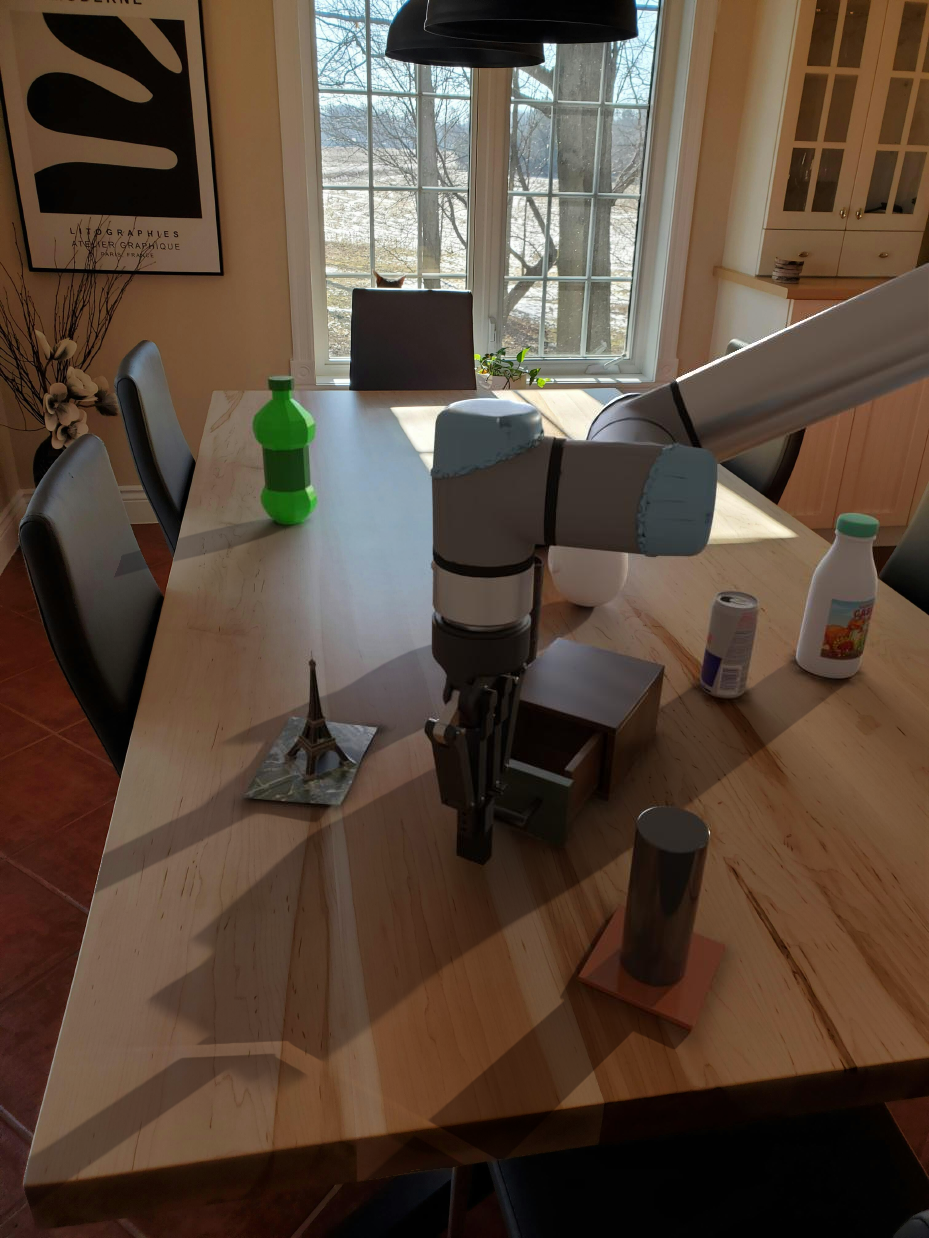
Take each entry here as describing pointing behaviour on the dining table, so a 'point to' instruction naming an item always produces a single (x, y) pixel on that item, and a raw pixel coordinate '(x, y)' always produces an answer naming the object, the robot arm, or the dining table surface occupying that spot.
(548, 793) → the drawer
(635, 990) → the coaster
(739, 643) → the energy drink
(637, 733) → the cabinet
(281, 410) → the plastic bottle
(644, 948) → the dark grey cylinder
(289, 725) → the eiffel tower figurine
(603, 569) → the piggy bank
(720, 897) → the dining table surface
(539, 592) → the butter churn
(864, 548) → the milk bottle
